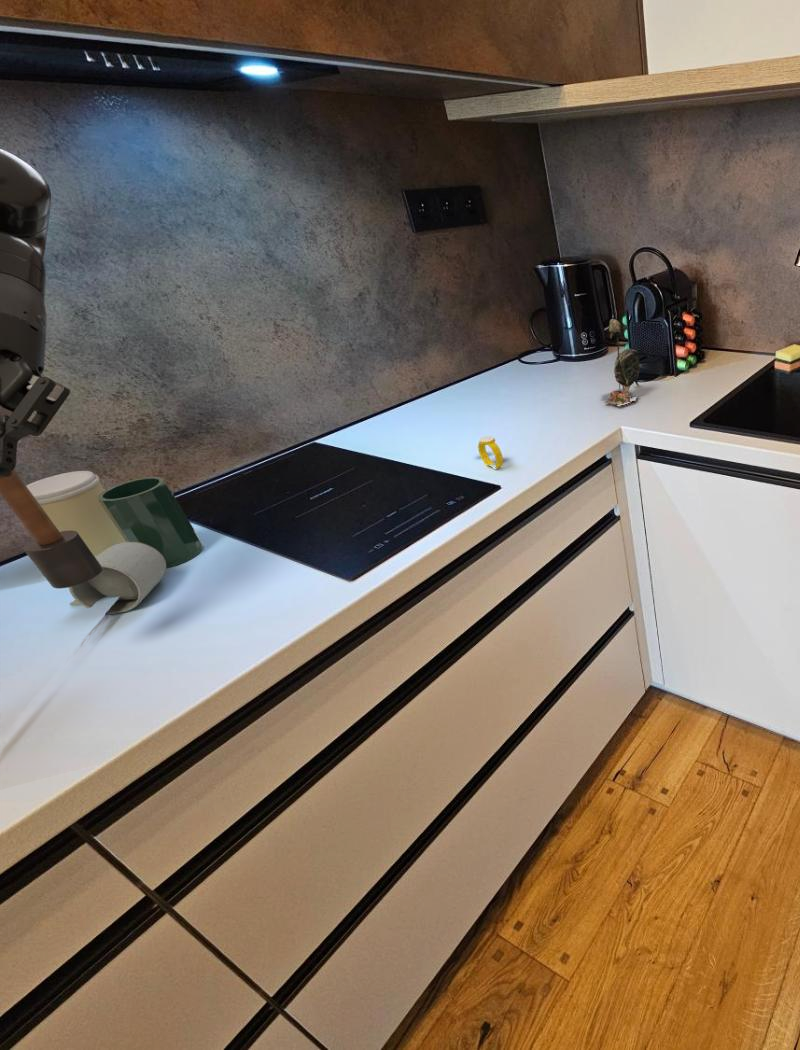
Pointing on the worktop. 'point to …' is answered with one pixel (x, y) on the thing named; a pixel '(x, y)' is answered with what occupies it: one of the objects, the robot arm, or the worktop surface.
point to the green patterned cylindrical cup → (152, 518)
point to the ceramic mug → (122, 576)
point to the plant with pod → (623, 368)
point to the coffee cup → (77, 508)
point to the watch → (491, 443)
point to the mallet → (49, 539)
